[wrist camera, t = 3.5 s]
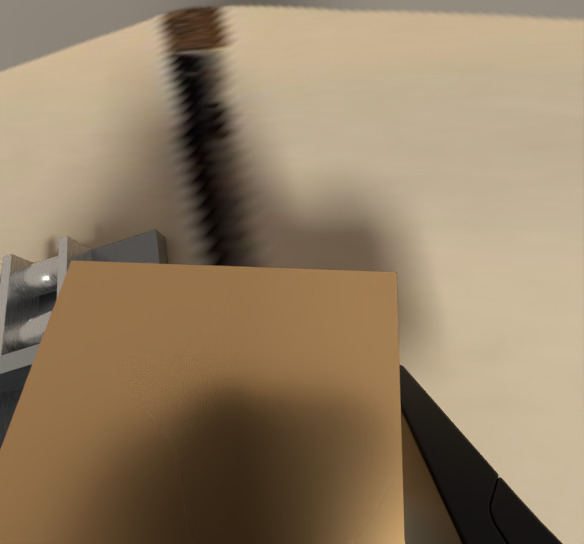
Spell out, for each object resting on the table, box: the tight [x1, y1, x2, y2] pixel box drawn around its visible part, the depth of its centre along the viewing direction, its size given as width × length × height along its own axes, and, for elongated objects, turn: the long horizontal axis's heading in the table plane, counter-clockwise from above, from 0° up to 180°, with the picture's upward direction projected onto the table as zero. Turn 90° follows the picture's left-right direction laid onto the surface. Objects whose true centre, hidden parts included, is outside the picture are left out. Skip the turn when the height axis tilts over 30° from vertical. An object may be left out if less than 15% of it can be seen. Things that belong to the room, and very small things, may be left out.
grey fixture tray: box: [0, 230, 168, 449], centre depth 14 cm, size 20×12×4 cm, turn 15°
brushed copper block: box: [0, 261, 405, 544], centre depth 8 cm, size 4×4×13 cm
